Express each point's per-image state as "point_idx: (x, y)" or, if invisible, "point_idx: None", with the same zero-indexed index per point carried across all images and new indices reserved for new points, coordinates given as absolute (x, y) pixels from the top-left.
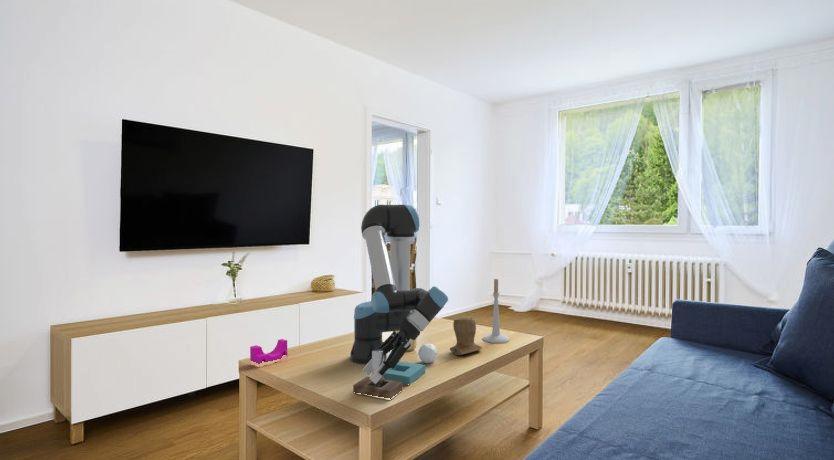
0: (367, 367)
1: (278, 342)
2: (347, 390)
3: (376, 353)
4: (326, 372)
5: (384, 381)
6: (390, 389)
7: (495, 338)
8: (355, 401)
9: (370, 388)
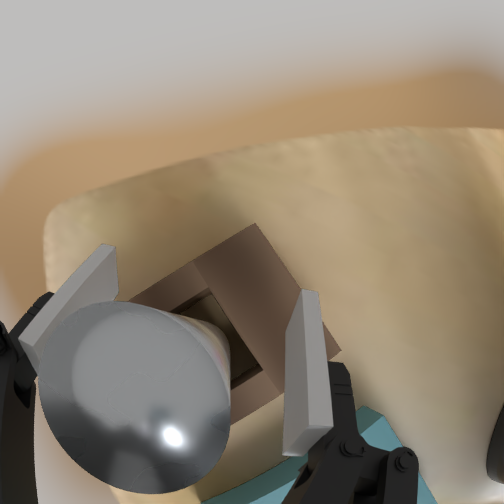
0: (299, 325)
1: None
2: (305, 232)
3: (61, 330)
4: (495, 247)
5: None
6: None
7: None
8: (164, 209)
9: (157, 282)
